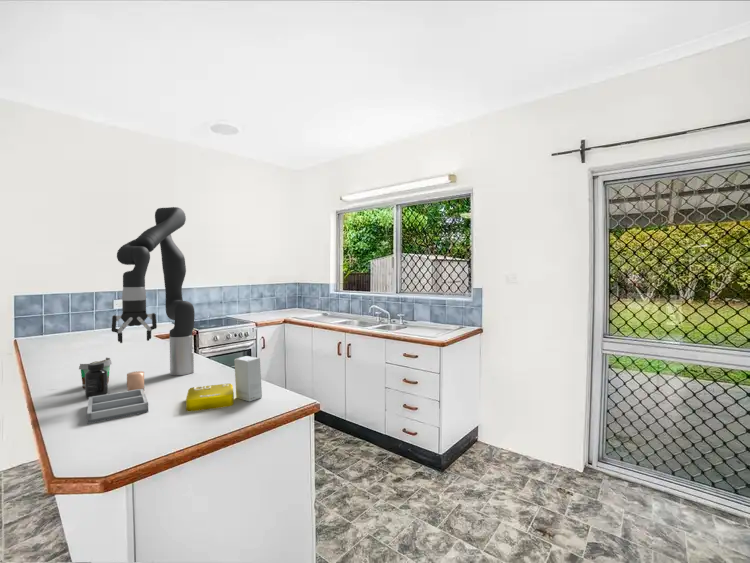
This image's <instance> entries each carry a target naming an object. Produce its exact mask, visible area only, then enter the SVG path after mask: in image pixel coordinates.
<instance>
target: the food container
mask: <svg viewBox="0 0 750 563" xmlns="http://www.w3.org/2000/svg"><path fill="white" fill-rule="evenodd" d="M99 362H102V363H104V368H103V369H105V370H106V371H107V378H108V383H109V380H110V367H111V365H113V362H112V359H111V358H110V357H105V359H104V360H99V361H92V362H90V363H79V367H78V370H80V375H81V384H82V388H83V389H85V374H86V373H87V372H88V371H89V370H88V365H89V364H92V363H99Z"/></svg>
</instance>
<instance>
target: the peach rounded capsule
mask: <svg viewBox="0 0 750 563" xmlns="http://www.w3.org/2000/svg"><path fill="white" fill-rule="evenodd" d="M137 389H144V390H145V371H142V370H140V371H131V372H128V373H126V391H130V390H137Z"/></svg>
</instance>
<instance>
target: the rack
mask: <svg viewBox="0 0 750 563" xmlns="http://www.w3.org/2000/svg"><path fill="white" fill-rule="evenodd" d="M87 401H88V403H87V411H86V413H87V414H86V416H87V417H86V419H87V421H86V422H87V423H86V424H87V425H89V424H92V423H94V424H95V423H97V422H105V421H109V420H114V419H119V418H124V417H129V416H134V415H139V414H144V413H149V401H148V399H147V396H146V393H145V388H144V389H137V390H130V391H127V390H125V391H119V392H112V393H107V394H106V395H99V396H93V397H89V398H88V400H87Z"/></svg>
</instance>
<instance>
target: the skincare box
mask: <svg viewBox="0 0 750 563" xmlns="http://www.w3.org/2000/svg"><path fill="white" fill-rule="evenodd" d="M233 364H234V380H235V398H236V399H240V400H243V401H246V402H253V401H255V400H258V399H261V398H263V397H262V396H263V391H262V388H263V387H262V375H261V374H262V373H261V372H262V371H261V358H260V357H255V356H249V355H246V356H240V357H237V358H235V359H234V363H233Z"/></svg>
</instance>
